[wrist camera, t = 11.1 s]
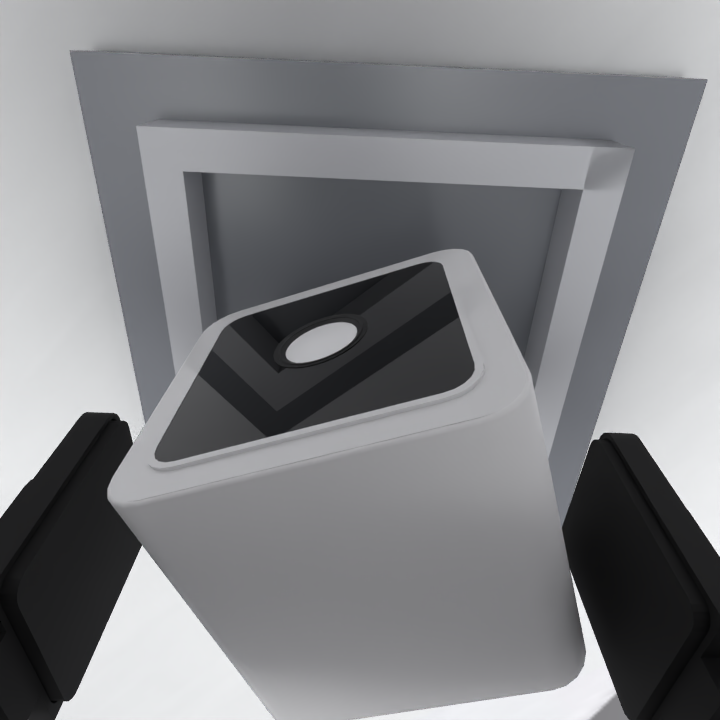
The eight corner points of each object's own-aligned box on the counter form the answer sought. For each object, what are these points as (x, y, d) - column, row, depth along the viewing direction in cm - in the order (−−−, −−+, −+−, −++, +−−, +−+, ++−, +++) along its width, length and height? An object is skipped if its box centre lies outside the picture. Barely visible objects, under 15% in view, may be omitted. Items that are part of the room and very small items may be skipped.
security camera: (446, 199, 15) (546, 400, 6) (495, 397, 18) (604, 710, 9) (241, 265, 16) (83, 513, 7) (322, 440, 19) (278, 755, 11)
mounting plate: (91, 50, 14) (36, 50, 12) (683, 77, 14) (743, 81, 12) (172, 490, 22) (149, 541, 20) (552, 508, 22) (573, 561, 20)
